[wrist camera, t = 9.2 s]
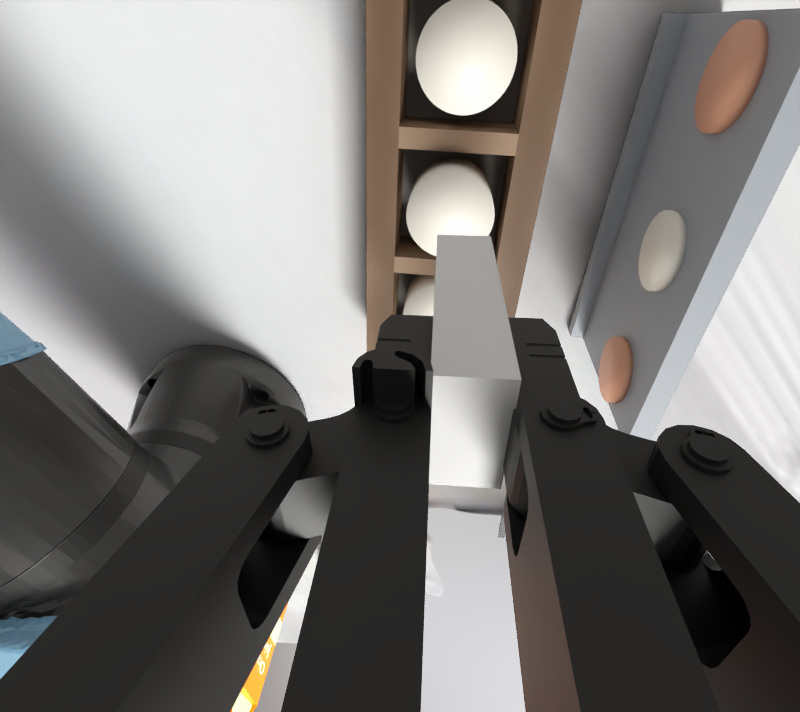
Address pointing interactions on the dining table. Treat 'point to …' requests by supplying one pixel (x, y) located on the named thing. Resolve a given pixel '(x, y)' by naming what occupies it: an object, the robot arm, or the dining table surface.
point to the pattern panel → (686, 199)
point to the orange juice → (257, 674)
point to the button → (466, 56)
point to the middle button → (449, 203)
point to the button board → (456, 141)
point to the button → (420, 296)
